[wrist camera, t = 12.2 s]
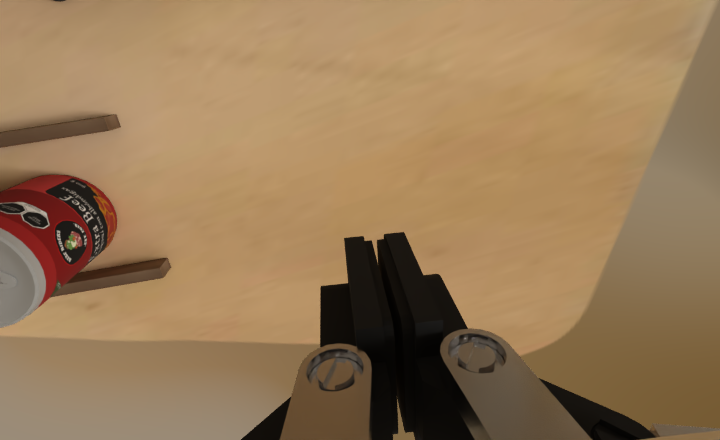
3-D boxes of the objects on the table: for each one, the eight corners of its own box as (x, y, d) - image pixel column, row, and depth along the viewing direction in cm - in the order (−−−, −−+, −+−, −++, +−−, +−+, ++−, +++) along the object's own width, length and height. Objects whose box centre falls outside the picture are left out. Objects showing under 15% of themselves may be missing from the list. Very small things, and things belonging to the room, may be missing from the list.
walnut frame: (-57, 141, 31) (-81, 145, 30) (116, 114, 32) (103, 117, 30) (23, 292, 37) (7, 304, 35) (170, 267, 37) (163, 277, 35)
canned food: (131, 248, 36) (58, 322, 26) (40, 259, 36) (-71, 338, 26) (104, 166, 33) (8, 212, 23) (4, 177, 33) (-137, 229, 23)
